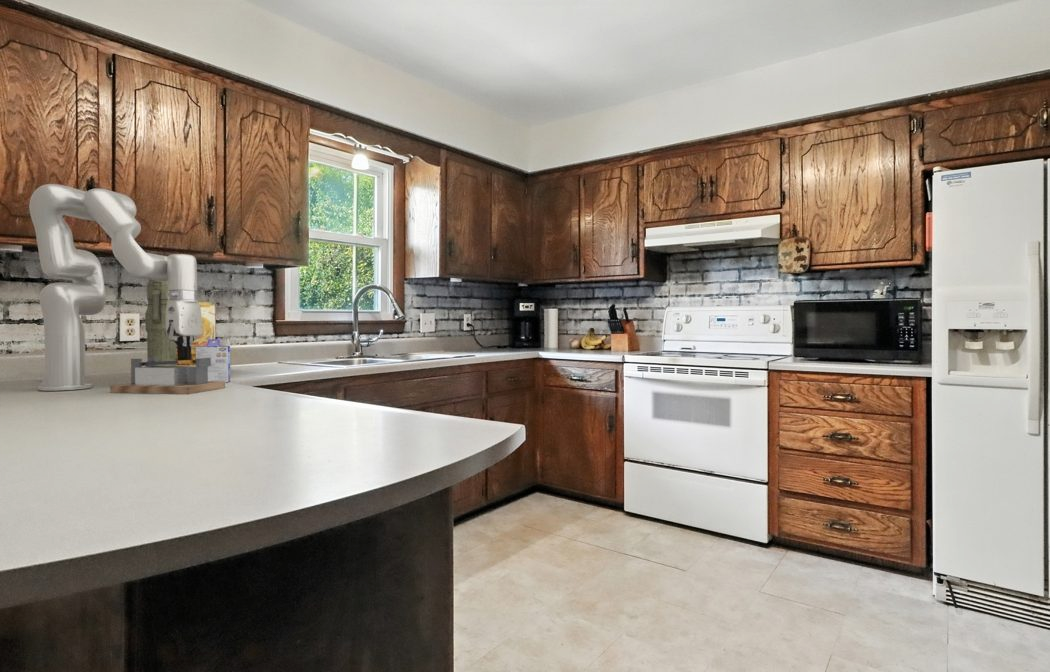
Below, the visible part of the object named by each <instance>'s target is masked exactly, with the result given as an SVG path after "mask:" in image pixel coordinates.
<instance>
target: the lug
mask: <svg viewBox="0 0 1050 672" xmlns="http://www.w3.org/2000/svg"><path fill="white" fill-rule="evenodd" d="M208 366H211V358H198V359H196V367H188V374H189V385H198V384H205V383H208Z"/></svg>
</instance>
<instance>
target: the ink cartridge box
mask: <svg viewBox="0 0 1050 672" xmlns="http://www.w3.org/2000/svg"><path fill="white" fill-rule="evenodd" d="M210 341H215V343H209V342H210ZM220 343H221V339H220V338H215V339H208V342H207V346H197V347H196V359H198V358H211V366H208V381H225V383H229V382H231V377H232V376H231V345H221V344H220Z"/></svg>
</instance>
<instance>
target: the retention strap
mask: <svg viewBox="0 0 1050 672" xmlns="http://www.w3.org/2000/svg"><path fill="white" fill-rule="evenodd" d="M185 363H196V359H193V360H179V361H160V362H151V361H150V362H147V361H142V367H146V366H147V365H161V364H185Z"/></svg>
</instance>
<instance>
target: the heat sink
mask: <svg viewBox="0 0 1050 672" xmlns="http://www.w3.org/2000/svg"><path fill="white" fill-rule="evenodd" d="M188 367H196V365H159V366H148V367H146V366H142V367H137V368H135V385H150V386H177V385H184V384H189V374H188Z"/></svg>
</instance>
